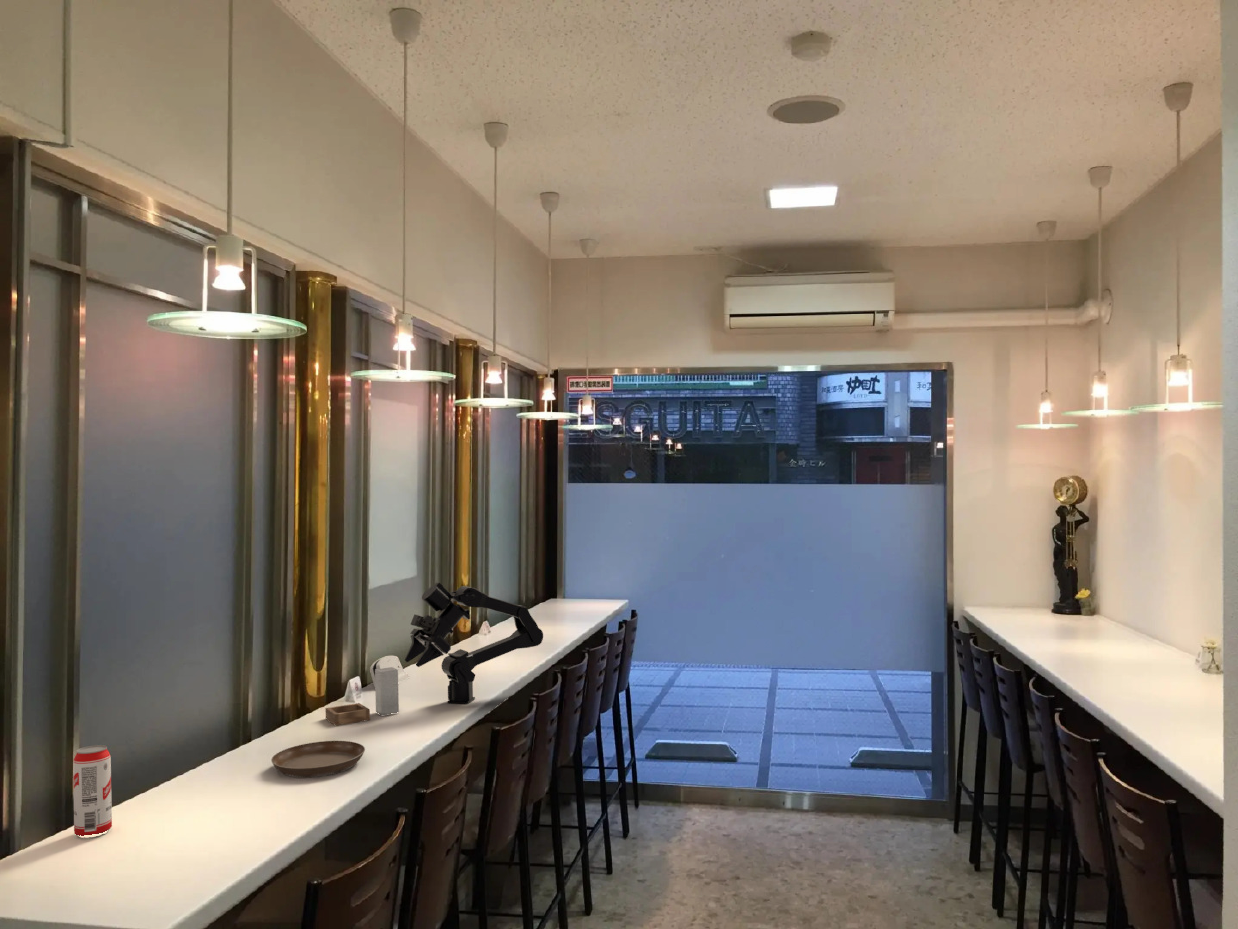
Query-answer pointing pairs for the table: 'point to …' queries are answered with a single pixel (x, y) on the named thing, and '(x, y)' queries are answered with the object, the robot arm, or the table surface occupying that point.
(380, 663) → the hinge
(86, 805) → the beer can
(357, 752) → the plant saucer
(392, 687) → the grey block
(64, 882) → the table surface
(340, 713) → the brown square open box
